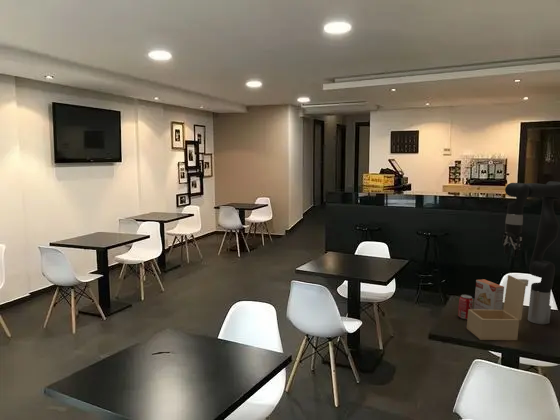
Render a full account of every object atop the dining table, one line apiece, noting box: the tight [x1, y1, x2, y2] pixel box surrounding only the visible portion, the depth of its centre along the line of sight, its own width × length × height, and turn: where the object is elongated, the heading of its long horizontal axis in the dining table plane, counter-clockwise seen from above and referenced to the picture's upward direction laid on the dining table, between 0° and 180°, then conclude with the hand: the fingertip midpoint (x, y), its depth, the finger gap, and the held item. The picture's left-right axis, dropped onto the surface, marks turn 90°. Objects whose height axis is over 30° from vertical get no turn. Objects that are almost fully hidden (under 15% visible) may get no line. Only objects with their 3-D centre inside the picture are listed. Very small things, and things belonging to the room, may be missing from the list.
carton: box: [466, 308, 520, 341], centre depth 216 cm, size 18×14×10 cm
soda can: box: [457, 294, 474, 320], centre depth 237 cm, size 7×7×12 cm
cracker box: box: [473, 278, 505, 310], centre depth 233 cm, size 14×6×21 cm, turn 17°
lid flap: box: [502, 274, 529, 321], centre depth 215 cm, size 18×14×6 cm
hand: (510, 255), depth 220 cm, fingers open, 8 cm apart
